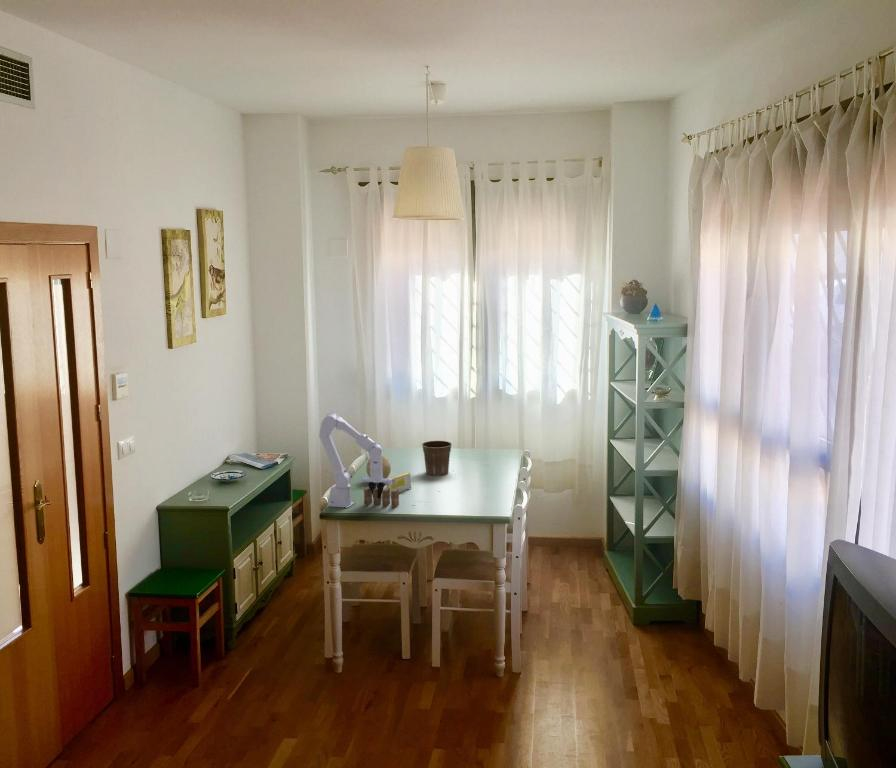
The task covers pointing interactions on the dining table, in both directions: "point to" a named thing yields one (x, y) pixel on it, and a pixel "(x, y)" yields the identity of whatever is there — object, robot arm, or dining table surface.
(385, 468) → the fossilized egg
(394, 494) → the far tile
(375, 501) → the tile
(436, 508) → the dining table surface
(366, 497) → the end tile
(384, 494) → the middle tile
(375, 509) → the dining table surface
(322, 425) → the robot arm
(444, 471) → the plant pot
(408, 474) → the candy box
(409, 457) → the dining table surface
